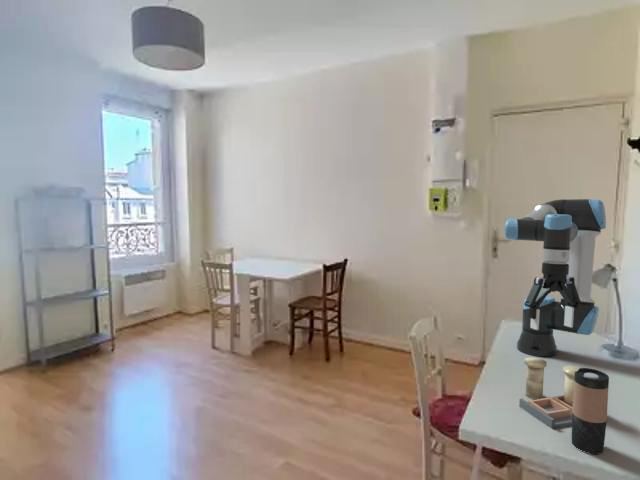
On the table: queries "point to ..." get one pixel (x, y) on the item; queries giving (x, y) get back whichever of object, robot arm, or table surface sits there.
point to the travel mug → (589, 410)
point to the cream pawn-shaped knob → (535, 377)
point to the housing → (554, 404)
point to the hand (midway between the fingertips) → (551, 327)
